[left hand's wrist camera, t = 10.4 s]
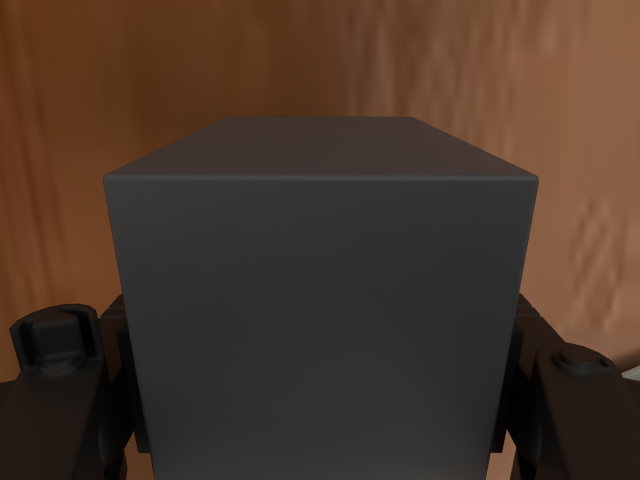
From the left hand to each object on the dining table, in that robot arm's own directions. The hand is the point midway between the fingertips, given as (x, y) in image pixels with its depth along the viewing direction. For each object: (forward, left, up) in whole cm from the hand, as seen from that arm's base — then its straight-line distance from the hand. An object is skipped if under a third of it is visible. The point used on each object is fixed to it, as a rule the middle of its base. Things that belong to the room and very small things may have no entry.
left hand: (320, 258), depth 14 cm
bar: (+10, 0, -1) cm, 10 cm away
